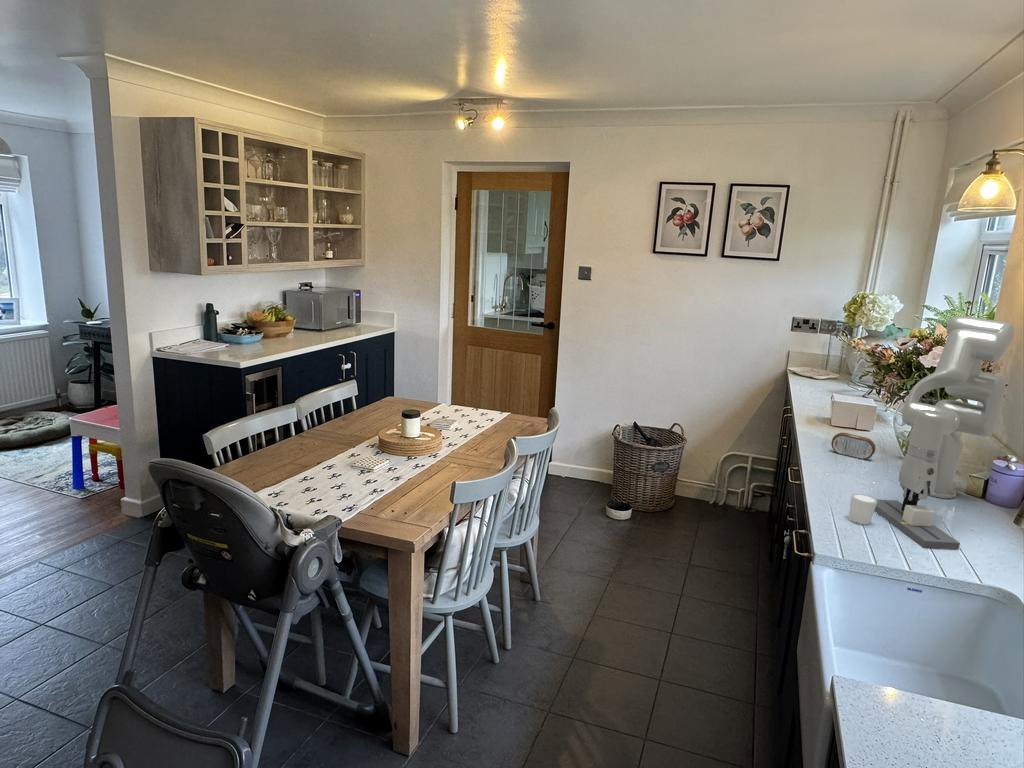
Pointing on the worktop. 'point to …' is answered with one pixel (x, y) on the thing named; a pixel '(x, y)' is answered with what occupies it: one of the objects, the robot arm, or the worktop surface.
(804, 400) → the worktop surface
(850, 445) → the tin
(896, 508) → the fader track
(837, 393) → the worktop surface
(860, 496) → the white cylinder
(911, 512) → the fader knob
